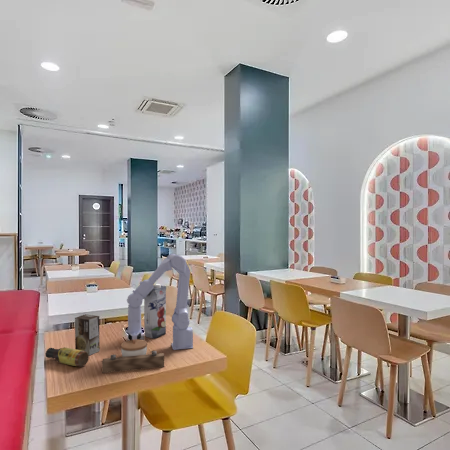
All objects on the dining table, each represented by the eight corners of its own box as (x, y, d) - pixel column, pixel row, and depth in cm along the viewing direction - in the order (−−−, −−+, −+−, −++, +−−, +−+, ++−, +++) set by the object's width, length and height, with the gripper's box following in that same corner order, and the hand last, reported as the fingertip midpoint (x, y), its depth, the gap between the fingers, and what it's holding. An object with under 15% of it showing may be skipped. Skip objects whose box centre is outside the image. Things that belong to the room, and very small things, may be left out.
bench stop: (163, 363, 141) (163, 349, 141) (164, 366, 138) (164, 352, 138) (103, 369, 135) (102, 354, 135) (102, 373, 132) (102, 357, 132)
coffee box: (100, 350, 155) (100, 315, 155) (89, 355, 149) (89, 319, 149) (85, 347, 159) (85, 313, 159) (74, 352, 153) (74, 317, 153)
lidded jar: (116, 365, 139) (115, 343, 139) (129, 355, 149) (129, 334, 149) (139, 368, 136) (139, 345, 136) (151, 358, 147) (151, 336, 147)
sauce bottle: (77, 356, 134) (40, 350, 141) (79, 370, 135) (42, 364, 142) (89, 347, 140) (53, 342, 147) (91, 361, 141) (55, 355, 148)
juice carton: (141, 336, 174) (141, 284, 174) (156, 331, 183) (155, 281, 183) (154, 340, 169) (154, 286, 169) (168, 334, 178) (168, 283, 178)
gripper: (125, 316, 158) (126, 345, 158) (124, 325, 144) (124, 357, 144) (141, 315, 159) (141, 344, 160) (141, 324, 145) (141, 355, 145)
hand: (134, 350), depth 152 cm, fingers closed
